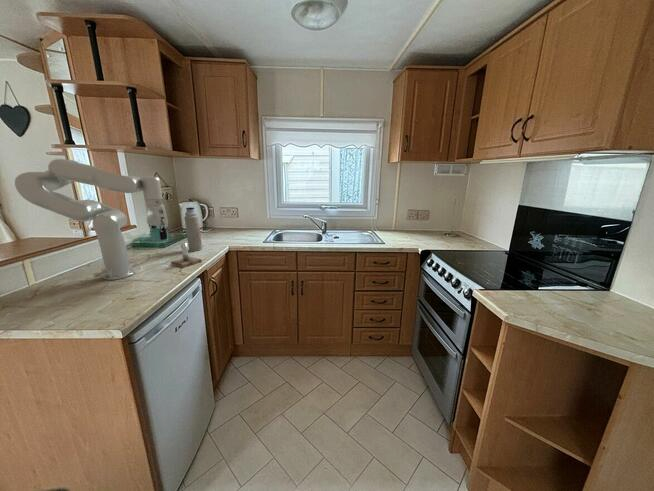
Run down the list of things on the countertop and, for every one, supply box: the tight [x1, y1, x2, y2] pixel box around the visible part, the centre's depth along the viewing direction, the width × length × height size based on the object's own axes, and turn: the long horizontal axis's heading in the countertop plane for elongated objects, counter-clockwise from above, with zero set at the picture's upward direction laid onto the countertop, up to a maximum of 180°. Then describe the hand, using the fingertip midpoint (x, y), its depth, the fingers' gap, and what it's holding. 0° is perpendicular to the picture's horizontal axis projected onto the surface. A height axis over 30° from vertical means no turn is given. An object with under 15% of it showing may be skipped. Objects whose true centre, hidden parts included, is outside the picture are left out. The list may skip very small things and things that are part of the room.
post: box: [180, 242, 190, 261], centre depth 149 cm, size 3×3×10 cm
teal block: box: [149, 226, 169, 243], centre depth 133 cm, size 7×7×6 cm
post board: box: [170, 256, 202, 269], centre depth 150 cm, size 11×11×2 cm
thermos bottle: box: [184, 207, 203, 252], centre depth 173 cm, size 8×8×28 cm
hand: (159, 238), depth 134 cm, fingers closed on teal block, 6 cm apart
